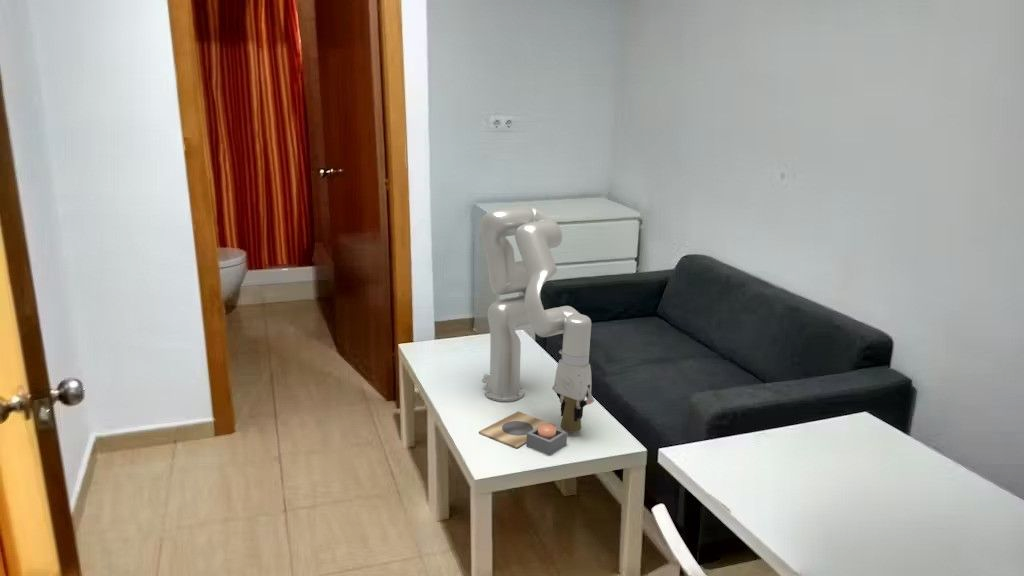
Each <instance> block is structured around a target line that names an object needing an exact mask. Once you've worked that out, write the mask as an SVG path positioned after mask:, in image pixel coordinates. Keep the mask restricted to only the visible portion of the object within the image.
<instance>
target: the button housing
mask: <svg viewBox="0 0 1024 576" xmlns="http://www.w3.org/2000/svg"><path fill="white" fill-rule="evenodd" d="M567 444H568V431H564V430H563V429H561V428H557V427H556V436H555V437H553V438H552V439H550V440H548V439H546V438H543V437H541V436H538V427H537V428H535V429H534V430H532V431H530V432H528V433H527V442H526V444H525V445H526V447H527V448H529V449H533V450H534V451H537V452H538V453H539V452H540V453H542V454H543V455H547V456H553V454H555V453H556V452H558V451H560V450H561V449H563V448H564V447H567Z"/></svg>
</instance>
